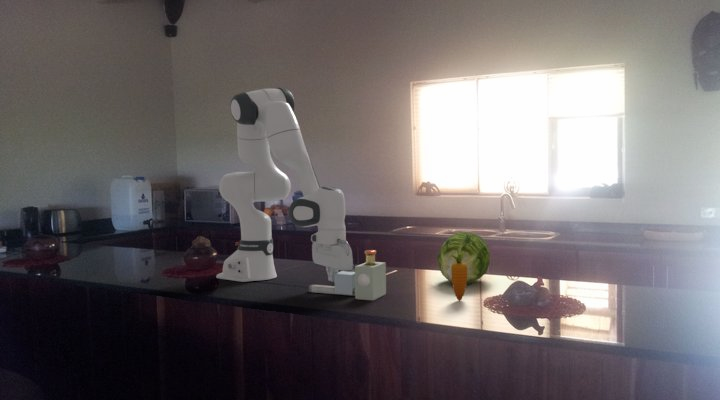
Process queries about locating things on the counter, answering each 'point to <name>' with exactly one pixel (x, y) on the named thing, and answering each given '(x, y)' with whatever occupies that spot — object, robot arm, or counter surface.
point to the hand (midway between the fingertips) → (332, 281)
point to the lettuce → (465, 255)
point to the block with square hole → (370, 281)
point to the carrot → (459, 275)
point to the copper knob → (370, 257)
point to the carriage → (344, 282)
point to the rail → (325, 289)
